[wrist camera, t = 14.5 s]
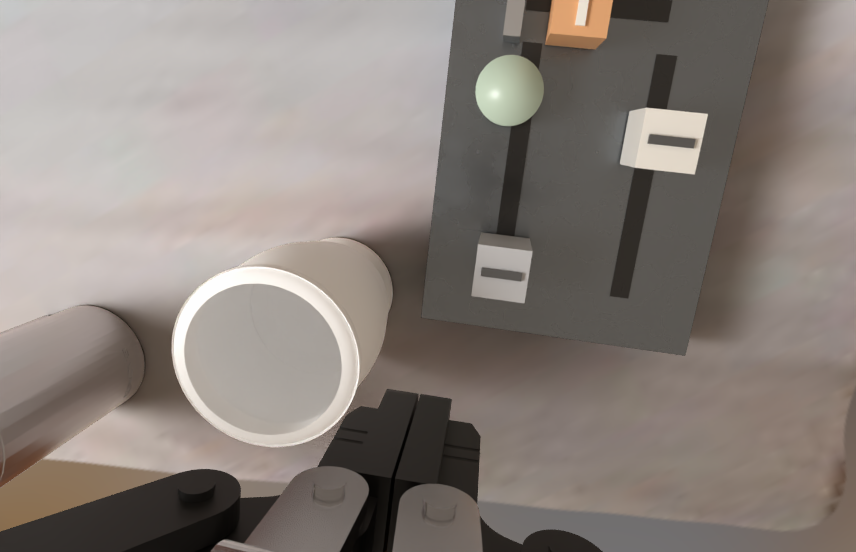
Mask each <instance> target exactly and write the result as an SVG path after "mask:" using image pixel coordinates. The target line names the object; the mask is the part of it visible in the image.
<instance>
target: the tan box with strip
mask: <svg viewBox="0 0 856 552" xmlns="http://www.w3.org/2000/svg"><path fill="white" fill-rule="evenodd" d="M612 3H613V0H552V1H551V8H550V15H549V22H548V28H547V35H546V42H545V45H552V46H563V47H574V48H584V49H596V48H597V47H598V46H599V45H600V44H601V43H602V42H603V41H604V40H605V39H606V38H607V32H608V26H609V21H610V15H611V9H612Z"/></svg>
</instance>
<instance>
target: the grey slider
mask: <svg viewBox="0 0 856 552" xmlns="http://www.w3.org/2000/svg"><path fill="white" fill-rule="evenodd" d="M532 252H533V251H532V247H531V242H530V238H522V237H514V236H507V235H499V234H491V233H483V232H481V235H480V239H479V243H478V248H477V256H476V264H475V271H474V279H473V287H472V294H471V296H474V297H482V298H489V299H496V300H503V301H510V302H517V303H525V297H526V290H527V284H528V278H529V271H530V265H531V258H532Z"/></svg>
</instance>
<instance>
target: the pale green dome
mask: <svg viewBox="0 0 856 552" xmlns="http://www.w3.org/2000/svg"><path fill="white" fill-rule="evenodd" d="M475 93H476V101H477V104H478V106H479V108H480V110H481V112H482V113H483V114H484V115H485V117H486V118H488V119H489V120H490V121H491V122H493V123H495V124H497V125H500V126H516V125H519V124H522V123H523V122H525V121H527V120H528V119H529V118H531V117H532V116H533V115H534V114H535V112H536V111H537V110H538V108H539V106H540V104H541V102H542V99H543V94H544V84H543V79H542V76H541V74H540V72H539V70H538V68H537V67H536V66H535V65H534V64H533V63H532V62H531V61H529V60H528V59H526V58H524V57H521V56H518V55H505V56H501V57H498V58H496V59H494V60H492V61H491V62H490V63H488V64H487V65H486V66H485V67H484V69H483V70H482V72H481V73H480V75H479V77H478V80H477V83H476V91H475Z"/></svg>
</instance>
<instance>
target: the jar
mask: <svg viewBox="0 0 856 552" xmlns="http://www.w3.org/2000/svg"><path fill="white" fill-rule="evenodd" d="M392 298H393V287H392V281H391V277H390V274H389V272H388V269H387V267H386V266H385V264H384V263H383V261H382V260H381V259H380V257H379V256H378V255H377V254H376V253H375V252H374V251H372V250H371V249H370V248H368V247H367V246H365V245H363V244H362V243H359V242H357V241H354V240H351V239H346V238H327V239H323V240H319V241H310V242H296V243H290V244H285V245H281V246H277V247H274V248H271V249H269V250H266V251H264V252H262V253H260V254H258V255H256V256H254V257H252V258H250V259H249V260H247V261H246V262H244V263H243V264H241V265H240V266H239V267H235V268H231V269H228V270H226V271H223V272H221V273H219V274H217V275H215V276H214V277H212V278H210V279H209V280H207V281H206V282H204V283H203V284H201V285H200V286H199V287H198V288H197V289H196V290H195V291H194V292H193V293H192V294H191V295H190V296H189V297H188V299H187V300H186V301H185V303H184V305H183V306H182V308H181V310H180V312H179V314H178V316H177V319H176V322H175V325H174V329H173V334H172V360H173V366H174V370H175V373H176V376H177V379H178V382H179V384H180V386H181V388H182V390H183V392H184V394H185V396H186V397H187V399H188V400H189V402H190V403H191V405H192V406H193V407H194V408H195V410H196V411H197V412H198V413H199V414H200V415H201V416H202V417H203V418H204V419H205V420H206V421H207V422H209V423H210V424H211V425H212V426H214V427H215V428H217V429H218V430H220V431H221V432H223V433H225V434H226V435H228V436H230V437H233V438H235V439H237V440H240V441H242V442H246V443H249V444H253V445H258V446H265V447H286V446H293V445H297V444H301V443H304V442H307V441H310V440H312V439H314V438H316V437H318V436H320V435H322V434H323V433H325V432H326V431H328V430H329V429H330V428H331V427H333V426H334V425H335V424H336V423H337V422H338V421H339V420H340V418H341V417H342V416H343V415H344V413H345V412H346V411H347V409H348V407H349V406H350V404H351V402H352V400H353V398H354V396H355V393H356V391H357V388H358V386H359V385H360V384H361V383H362V381H363V380H364V379H365V378H366V376H367V375H368V373H369V372H370V370H371V369H372V367H373V365H374V363H375V362H376V360H377V358H378V355H379V353H380V350H381V348H382V345H383V341H384V337H385V332H386V325H387V319H388V313H389V310H390V307H391V304H392Z"/></svg>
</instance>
